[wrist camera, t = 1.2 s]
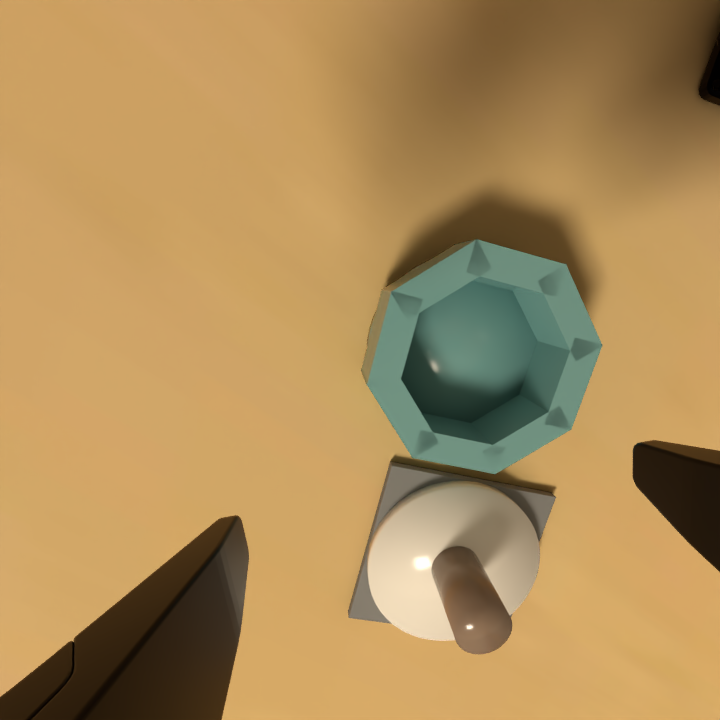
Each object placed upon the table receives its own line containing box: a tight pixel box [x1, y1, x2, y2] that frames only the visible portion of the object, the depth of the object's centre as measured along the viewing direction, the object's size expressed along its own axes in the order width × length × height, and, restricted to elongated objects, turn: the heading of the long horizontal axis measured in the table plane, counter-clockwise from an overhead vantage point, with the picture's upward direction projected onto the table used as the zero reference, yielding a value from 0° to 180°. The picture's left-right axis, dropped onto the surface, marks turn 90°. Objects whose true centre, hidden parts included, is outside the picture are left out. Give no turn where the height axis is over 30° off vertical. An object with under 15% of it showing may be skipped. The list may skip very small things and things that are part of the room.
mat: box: [348, 462, 556, 624], centre depth 23 cm, size 10×10×1 cm
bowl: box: [361, 239, 602, 474], centre depth 19 cm, size 10×10×4 cm
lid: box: [367, 481, 540, 654], centre depth 21 cm, size 10×10×5 cm
